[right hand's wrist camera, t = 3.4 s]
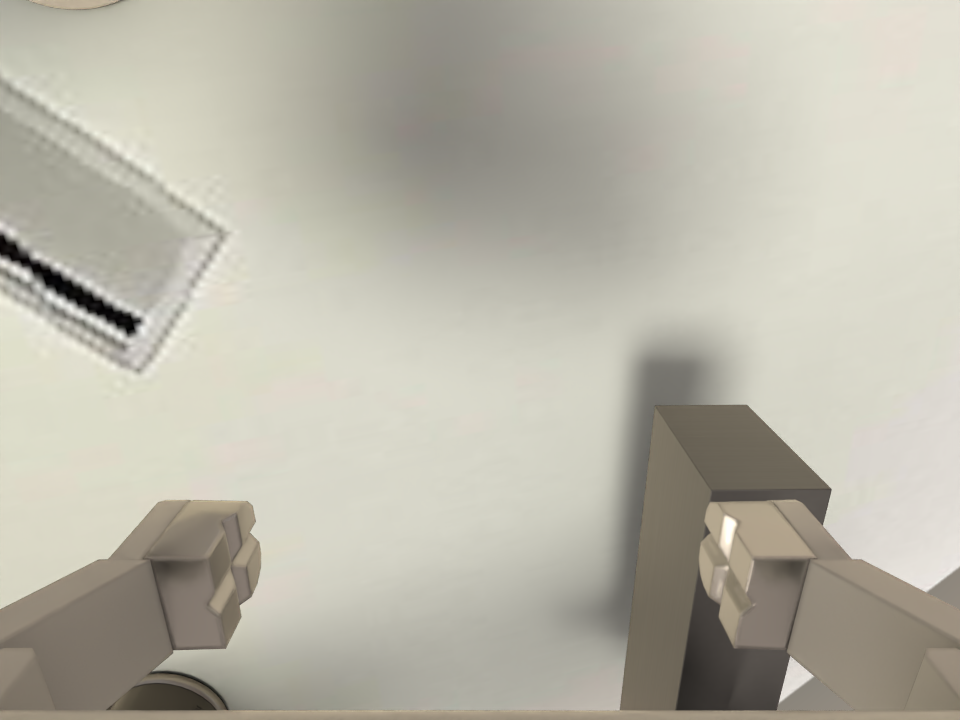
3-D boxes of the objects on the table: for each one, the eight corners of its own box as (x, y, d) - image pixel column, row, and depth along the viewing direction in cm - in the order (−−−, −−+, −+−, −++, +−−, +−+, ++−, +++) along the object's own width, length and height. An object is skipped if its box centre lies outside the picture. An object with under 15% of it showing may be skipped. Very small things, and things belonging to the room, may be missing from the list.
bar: (654, 405, 31) (711, 490, 24) (747, 404, 31) (832, 489, 24) (617, 731, 40) (649, 867, 33) (689, 730, 40) (738, 866, 33)
